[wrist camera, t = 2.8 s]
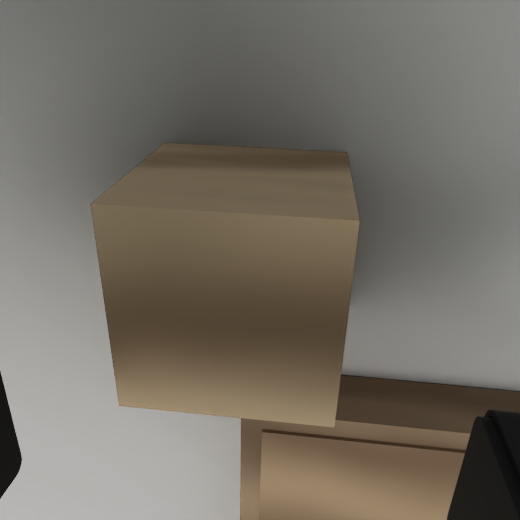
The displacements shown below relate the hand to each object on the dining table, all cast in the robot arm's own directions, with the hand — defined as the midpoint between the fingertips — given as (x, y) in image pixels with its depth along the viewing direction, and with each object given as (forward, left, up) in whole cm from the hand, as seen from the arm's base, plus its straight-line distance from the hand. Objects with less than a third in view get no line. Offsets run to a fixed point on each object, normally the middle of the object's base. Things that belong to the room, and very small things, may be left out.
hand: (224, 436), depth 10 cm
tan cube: (-1, -1, -9) cm, 9 cm away
